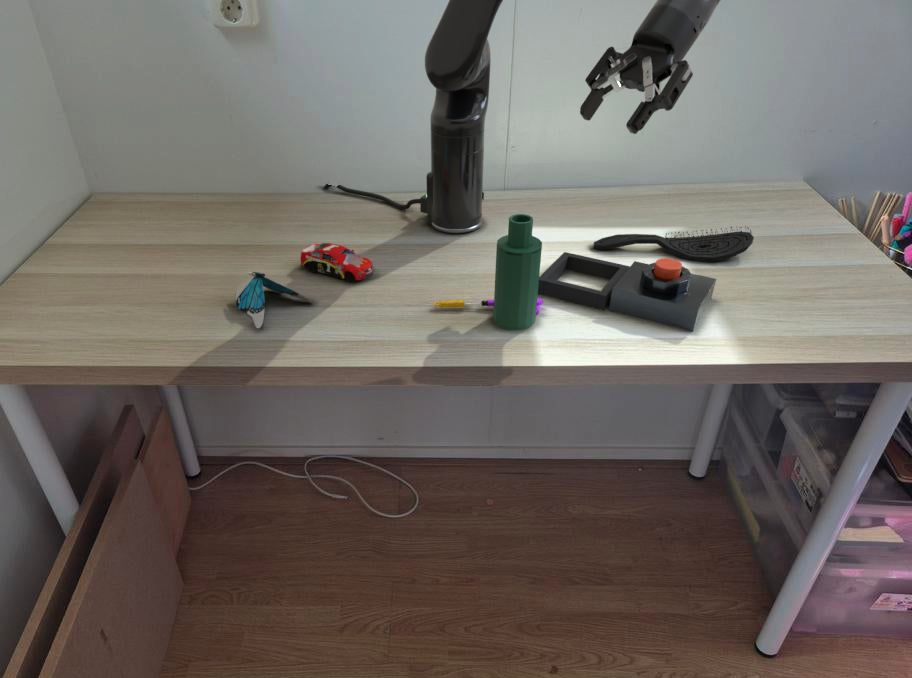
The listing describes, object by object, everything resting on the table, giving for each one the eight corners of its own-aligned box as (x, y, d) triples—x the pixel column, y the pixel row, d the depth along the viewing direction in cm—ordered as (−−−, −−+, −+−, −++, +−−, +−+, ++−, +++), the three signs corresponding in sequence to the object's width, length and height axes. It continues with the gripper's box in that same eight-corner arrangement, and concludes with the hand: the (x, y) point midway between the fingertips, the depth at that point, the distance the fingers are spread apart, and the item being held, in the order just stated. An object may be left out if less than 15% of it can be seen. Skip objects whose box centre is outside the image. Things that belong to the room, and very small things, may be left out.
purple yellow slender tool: (542, 302, 105) (434, 304, 106) (542, 296, 104) (434, 298, 105) (543, 314, 103) (434, 316, 104) (544, 309, 102) (434, 311, 103)
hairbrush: (593, 222, 122) (748, 219, 117) (591, 242, 124) (743, 240, 119) (596, 243, 115) (760, 241, 111) (594, 263, 117) (755, 262, 113)
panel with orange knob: (608, 310, 103) (613, 277, 100) (630, 282, 110) (636, 250, 106) (692, 332, 98) (701, 297, 94) (710, 301, 104) (719, 267, 101)
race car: (380, 273, 116) (378, 250, 113) (361, 287, 112) (359, 264, 110) (317, 255, 122) (314, 234, 119) (297, 268, 118) (294, 246, 116)
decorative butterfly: (268, 259, 112) (303, 263, 105) (279, 297, 115) (315, 303, 108) (213, 281, 107) (247, 287, 99) (226, 321, 109) (260, 329, 102)
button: (650, 277, 100) (652, 265, 99) (657, 266, 103) (659, 256, 102) (675, 282, 99) (678, 271, 98) (682, 272, 101) (685, 261, 100)
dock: (535, 293, 108) (536, 279, 107) (562, 265, 115) (564, 251, 114) (603, 311, 103) (606, 295, 102) (627, 280, 110) (630, 266, 109)
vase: (486, 323, 101) (490, 222, 92) (504, 305, 105) (510, 206, 96) (524, 334, 99) (532, 231, 90) (541, 315, 103) (551, 214, 94)
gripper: (624, -3, 99) (558, 97, 101) (712, 8, 90) (637, 118, 91) (643, 34, 105) (580, 128, 106) (728, 47, 95) (657, 150, 97)
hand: (606, 123), depth 99 cm, fingers open, 8 cm apart
